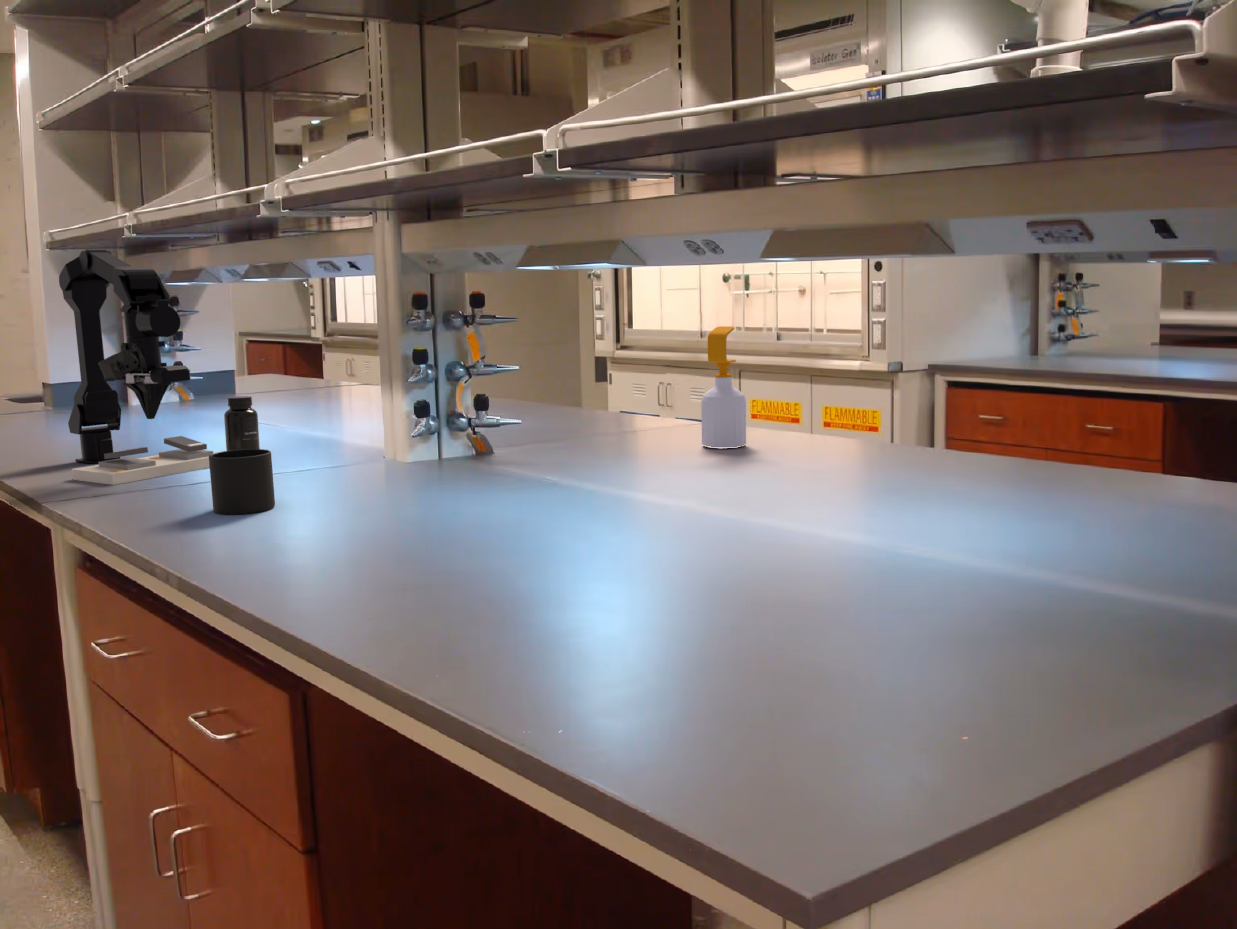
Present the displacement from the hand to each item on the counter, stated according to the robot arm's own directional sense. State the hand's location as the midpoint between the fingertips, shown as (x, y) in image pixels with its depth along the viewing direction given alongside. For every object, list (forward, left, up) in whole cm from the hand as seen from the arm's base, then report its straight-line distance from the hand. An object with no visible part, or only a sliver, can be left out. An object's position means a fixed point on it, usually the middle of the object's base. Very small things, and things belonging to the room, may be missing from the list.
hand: (150, 418), depth 215 cm
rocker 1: (-3, -4, -7) cm, 8 cm away
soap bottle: (+83, +75, -11) cm, 113 cm away
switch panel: (-3, +1, -11) cm, 11 cm away
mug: (+43, -14, -11) cm, 47 cm away
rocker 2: (-3, +9, -7) cm, 12 cm away
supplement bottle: (-7, +26, -11) cm, 29 cm away
